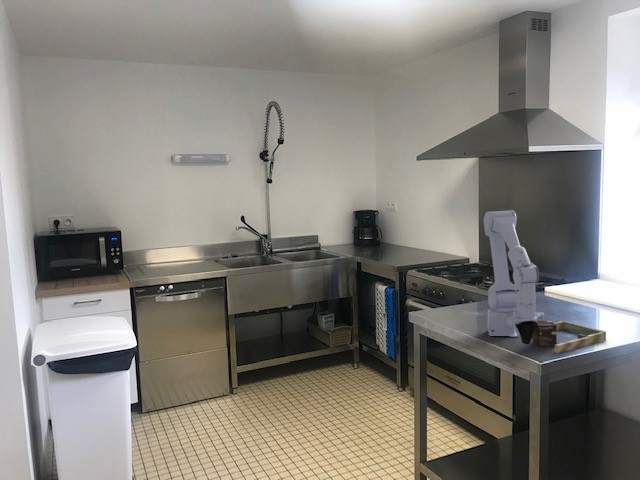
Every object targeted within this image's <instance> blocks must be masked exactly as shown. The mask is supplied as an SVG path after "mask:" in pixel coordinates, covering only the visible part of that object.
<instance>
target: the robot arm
mask: <svg viewBox="0 0 640 480" xmlns="http://www.w3.org/2000/svg"><path fill="white" fill-rule="evenodd" d="M483 226H484V227H483V229H484V234H485V236H487V237H489V243H490V244H489V245H490V251H491V259H492V267H493V268H492V269H493V273H494V283H493V284H492V285H491V286H490V287H489V288H488V290H487V291H488V294H487V295H488V296H487V302H488V306H489V307H490V308H491V309H487V326H486V329H487V333H488V332H489V333H488V336H489V335H490V336H510V337H509V338H518V334H517V331H516V329H517V330H518V333H519V335H520V339H521V343H522V344H525V345H530V344H531V340H532V339H533V337H532V335H533V332H534V330H535V328H536V327H537V322H534V321H538V320H545V312H541V311H538V312H537V311H536V284H537V283H538V282H539V281H540V280H539V279H540V272H539V268H538V266H537V265H535V264H534V262H531V259H530V257H529V256H528V253H527V250H526V248H525V247H523V246H521V244H520V241H519V237H518V235H517V232H516V227H517V214H516V212H515V211H514V210H512V209H510V210H500V211H499V210H498V211H486V212H485V213H484V216H483ZM506 245H507V247H508V249H509V251H508V252H507V250H506ZM508 259H509V261H510V264H511V267H512V269H513V270H512V271H513V273H512V279H513V282H514V283H513V282H511V279H510V273H509V265H508ZM490 336H489V337H490Z"/></svg>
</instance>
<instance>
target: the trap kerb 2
mask: <svg viewBox="0 0 640 480" xmlns="http://www.w3.org/2000/svg"><path fill="white" fill-rule="evenodd" d="M583 337H587V336H586V335H583V334H578V333H577V339H580V338H583Z"/></svg>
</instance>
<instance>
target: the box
mask: <svg viewBox="0 0 640 480" xmlns="http://www.w3.org/2000/svg"><path fill="white" fill-rule="evenodd" d="M534 322H537V327H536V328H535V330H534V332H533V337H532V342H533V343H534V344H535V345H536V346H537V347H538V348H548V347H549V348H550V347H552V348H555V345H556V344H558V343H557V337H558V336H557V333H558V331H557V325H555V324H554V323H555V322H553V321H552V320H536V321H534Z"/></svg>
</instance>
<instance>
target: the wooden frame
mask: <svg viewBox="0 0 640 480" xmlns="http://www.w3.org/2000/svg"><path fill="white" fill-rule="evenodd" d="M553 323H554V324H555V325H557V332H559V331H563V330H564V331H568V332H571V333H574V334H577V335H578V334H583V335H586V337H583V338H580V339H578V338H577V339H572V340H569V341H565V342H561V343H557V344H556V345H555V347H554V353H555V352H556V353H555V354H561V353H564V351H565V352H567V351H571V350H575V349H578V348H583V347H586V346H590V345H593V344H597V343H601V342H605V341H607V331H604V330H602V329H597V328H593V327H590V326H586V325H582V324H578V323H575V322H570V321H566V320H560V321H557V322H553ZM532 338H533V335H532ZM560 352H561V353H560Z"/></svg>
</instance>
